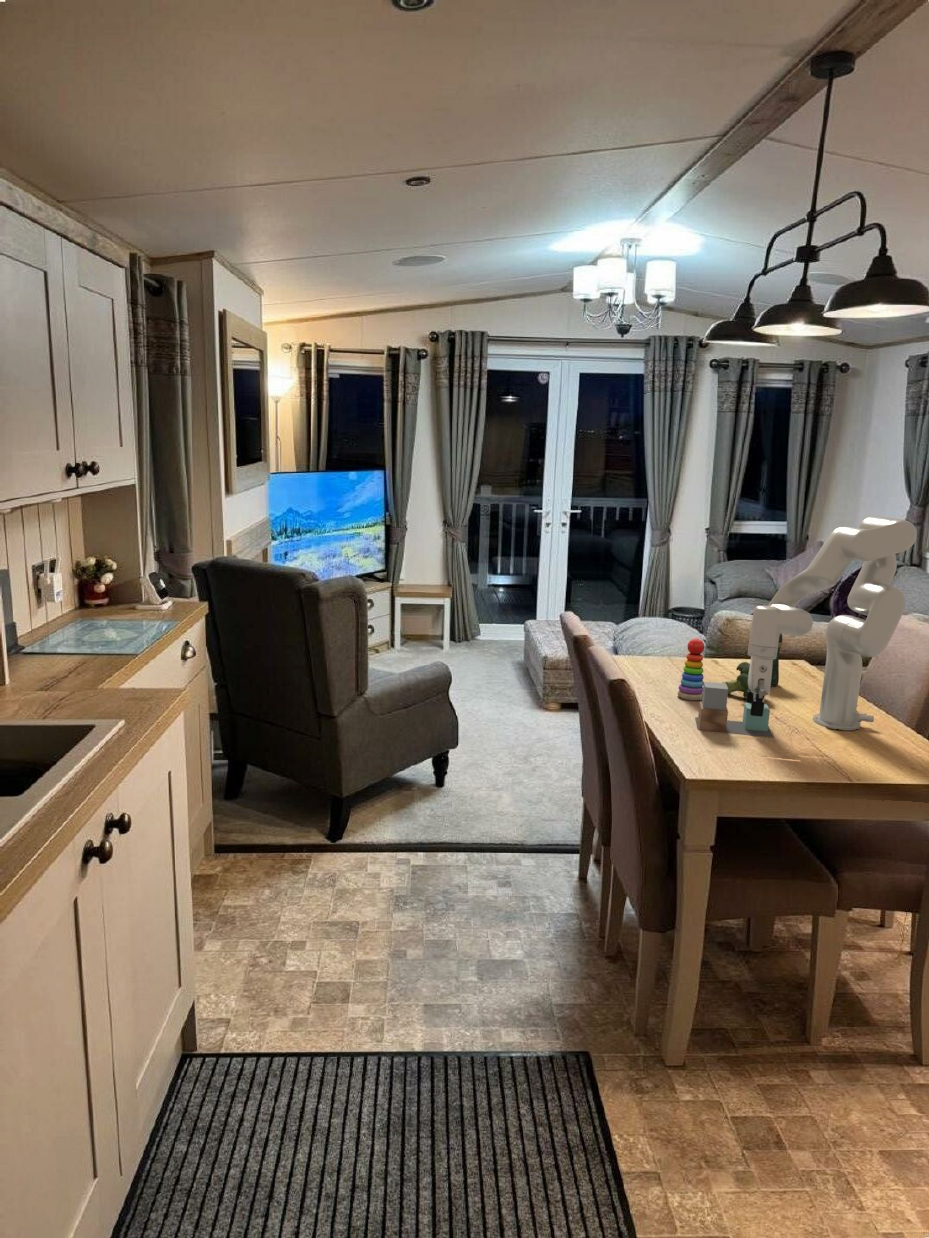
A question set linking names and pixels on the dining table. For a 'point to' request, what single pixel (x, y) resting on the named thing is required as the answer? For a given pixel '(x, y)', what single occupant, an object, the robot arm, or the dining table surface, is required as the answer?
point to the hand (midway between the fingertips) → (753, 710)
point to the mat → (741, 729)
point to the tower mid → (714, 696)
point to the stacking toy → (693, 672)
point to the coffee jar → (776, 665)
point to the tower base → (712, 719)
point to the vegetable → (740, 680)
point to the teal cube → (755, 719)
